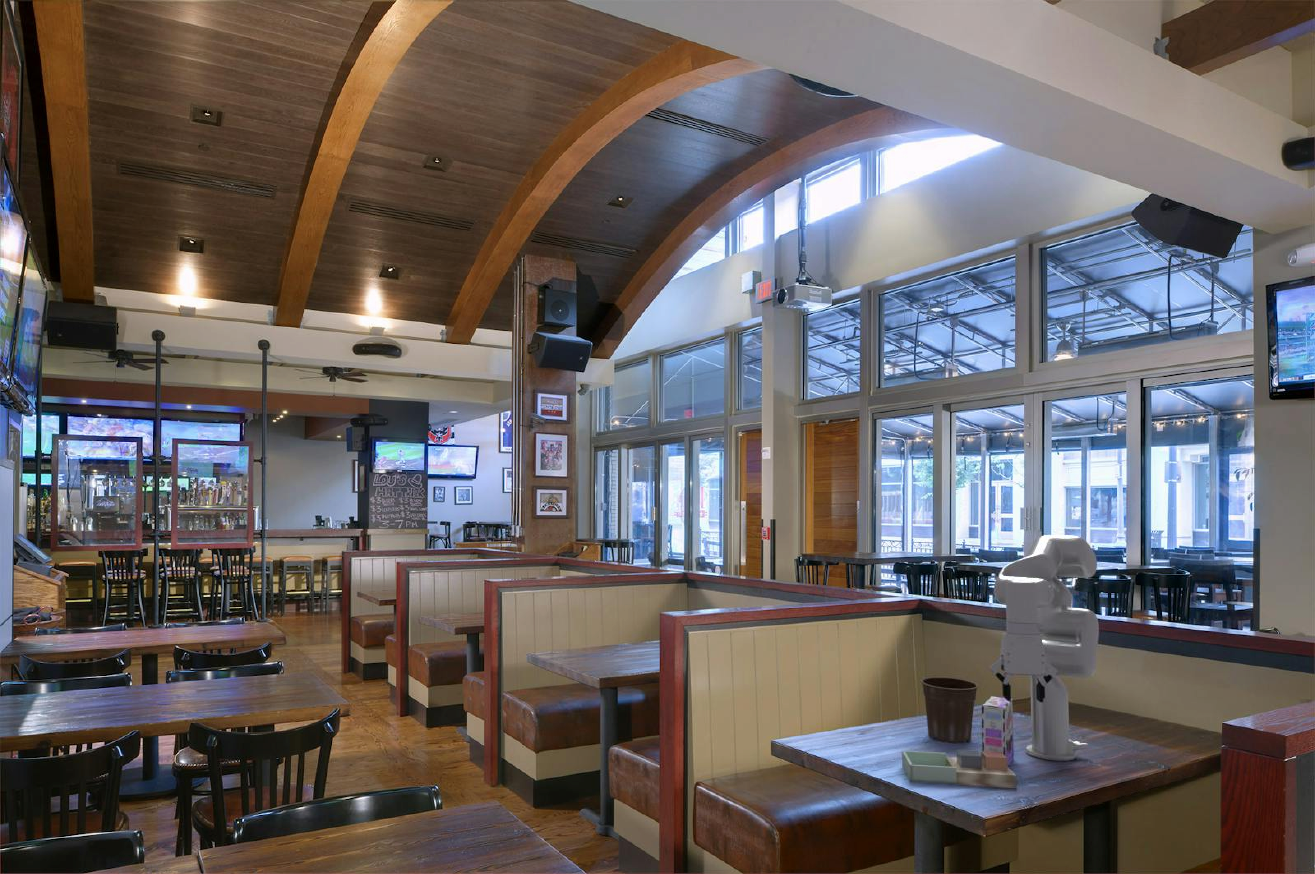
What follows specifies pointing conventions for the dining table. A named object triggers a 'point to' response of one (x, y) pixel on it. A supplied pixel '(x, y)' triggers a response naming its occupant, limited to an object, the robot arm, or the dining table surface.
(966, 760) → the tile
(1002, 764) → the tile
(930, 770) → the tray
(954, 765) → the tan wooden slab
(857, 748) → the dining table surface
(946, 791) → the dining table surface
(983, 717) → the candy box
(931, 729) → the plant pot
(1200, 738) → the dining table surface
